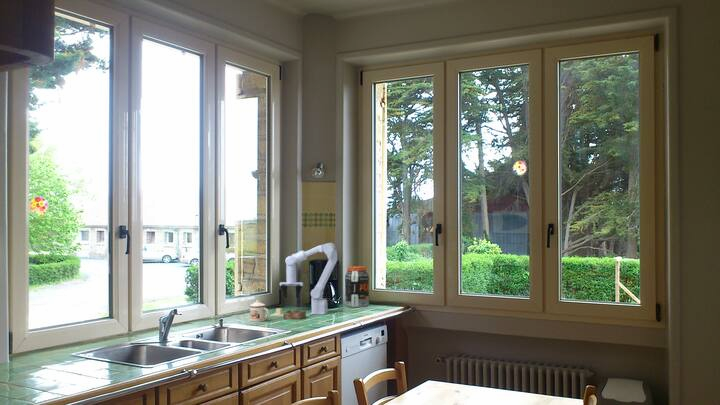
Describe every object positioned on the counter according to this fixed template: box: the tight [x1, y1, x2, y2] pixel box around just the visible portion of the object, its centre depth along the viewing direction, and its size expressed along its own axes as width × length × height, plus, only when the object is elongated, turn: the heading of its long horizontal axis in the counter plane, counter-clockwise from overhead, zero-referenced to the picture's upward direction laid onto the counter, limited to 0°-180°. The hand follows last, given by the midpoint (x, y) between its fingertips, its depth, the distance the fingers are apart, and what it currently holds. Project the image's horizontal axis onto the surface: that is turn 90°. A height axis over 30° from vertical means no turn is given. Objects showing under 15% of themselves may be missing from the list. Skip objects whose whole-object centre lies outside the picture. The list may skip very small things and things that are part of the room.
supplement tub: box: [344, 265, 370, 308], centre depth 433 cm, size 16×16×26 cm
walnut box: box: [283, 309, 307, 320], centre depth 383 cm, size 10×10×4 cm
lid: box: [269, 308, 284, 318], centre depth 393 cm, size 8×8×4 cm
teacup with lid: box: [249, 299, 270, 323], centre depth 375 cm, size 12×9×12 cm
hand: (291, 297), depth 402 cm, fingers open, 7 cm apart
